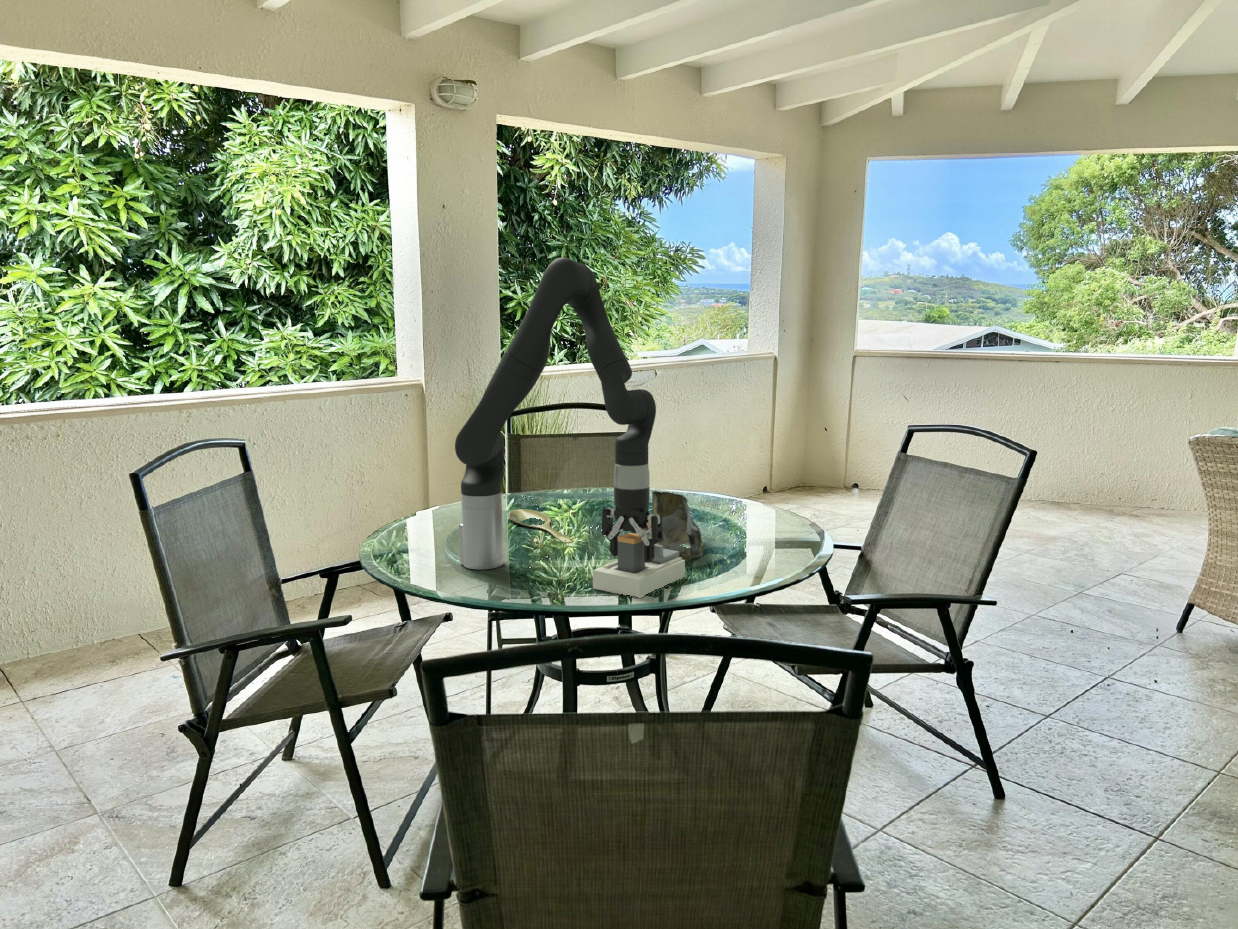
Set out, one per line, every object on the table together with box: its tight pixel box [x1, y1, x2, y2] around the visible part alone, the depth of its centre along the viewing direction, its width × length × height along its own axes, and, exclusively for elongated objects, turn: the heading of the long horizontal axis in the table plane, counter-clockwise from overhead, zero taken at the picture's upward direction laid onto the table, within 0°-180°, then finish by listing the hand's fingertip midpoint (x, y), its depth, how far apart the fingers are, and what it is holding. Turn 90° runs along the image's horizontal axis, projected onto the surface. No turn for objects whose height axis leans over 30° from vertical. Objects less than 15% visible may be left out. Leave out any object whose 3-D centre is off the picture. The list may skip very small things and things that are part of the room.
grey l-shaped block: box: [652, 544, 679, 563], centre depth 202 cm, size 8×7×4 cm
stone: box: [651, 490, 704, 563], centre depth 226 cm, size 17×10×30 cm
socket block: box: [592, 557, 686, 598], centre depth 198 cm, size 12×18×4 cm, turn 145°
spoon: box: [508, 508, 574, 544], centre depth 248 cm, size 35×11×2 cm, turn 28°
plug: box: [617, 532, 645, 574], centre depth 195 cm, size 4×4×10 cm
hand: (631, 558), depth 195 cm, fingers open, 8 cm apart
